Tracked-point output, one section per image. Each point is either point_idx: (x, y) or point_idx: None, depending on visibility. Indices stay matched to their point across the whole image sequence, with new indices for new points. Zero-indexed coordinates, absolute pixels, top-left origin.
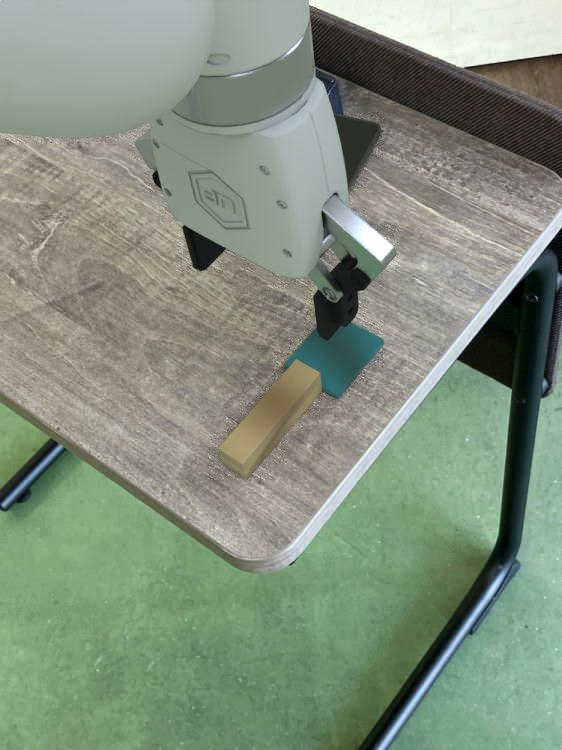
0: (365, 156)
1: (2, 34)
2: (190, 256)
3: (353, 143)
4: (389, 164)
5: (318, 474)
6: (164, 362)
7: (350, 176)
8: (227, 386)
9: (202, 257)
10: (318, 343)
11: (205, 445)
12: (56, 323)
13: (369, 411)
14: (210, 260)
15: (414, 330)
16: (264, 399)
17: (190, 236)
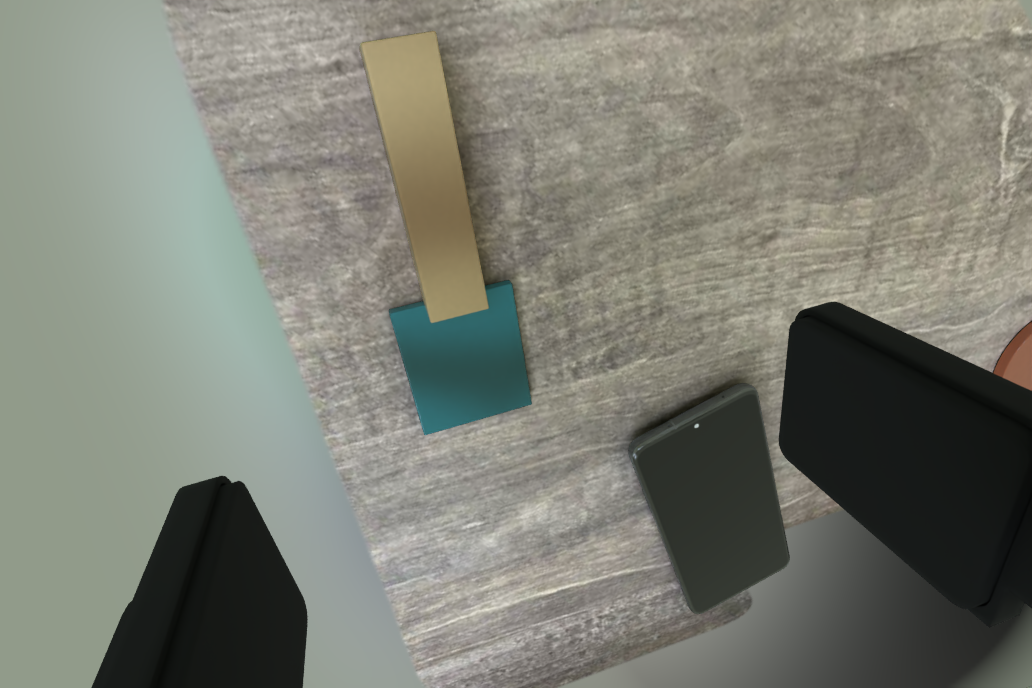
0: (679, 579)
1: None
2: (889, 326)
3: (706, 579)
4: (646, 587)
5: (272, 173)
6: (684, 122)
7: (674, 551)
8: (557, 176)
9: (845, 358)
10: (499, 354)
11: (489, 43)
12: (903, 24)
13: (329, 334)
14: (802, 364)
15: (409, 475)
16: (461, 201)
17: (1011, 412)
